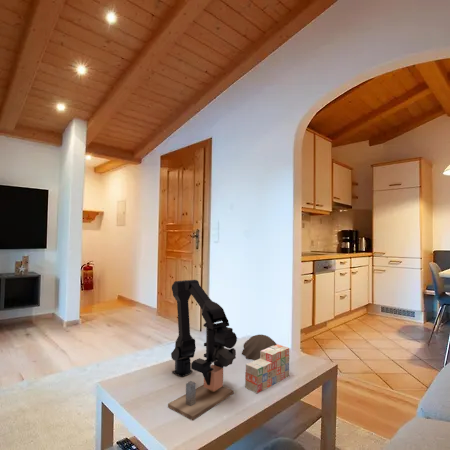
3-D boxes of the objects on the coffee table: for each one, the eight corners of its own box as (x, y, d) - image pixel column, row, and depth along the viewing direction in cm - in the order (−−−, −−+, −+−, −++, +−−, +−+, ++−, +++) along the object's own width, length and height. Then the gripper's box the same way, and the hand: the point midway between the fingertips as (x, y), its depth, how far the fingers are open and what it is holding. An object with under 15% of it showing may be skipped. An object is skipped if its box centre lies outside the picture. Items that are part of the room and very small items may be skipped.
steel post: (185, 407, 107) (186, 383, 108) (190, 404, 109) (190, 380, 109) (190, 409, 106) (190, 385, 106) (195, 406, 108) (195, 383, 108)
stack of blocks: (257, 394, 117) (257, 361, 118) (244, 388, 122) (245, 356, 122) (289, 376, 132) (289, 347, 132) (277, 371, 137) (277, 343, 137)
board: (168, 407, 107) (168, 403, 107) (210, 383, 124) (210, 380, 124) (192, 420, 100) (192, 416, 100) (233, 393, 117) (233, 390, 117)
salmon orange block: (203, 386, 116) (203, 369, 117) (212, 381, 120) (212, 364, 121) (214, 391, 113) (214, 373, 113) (223, 386, 117) (223, 368, 117)
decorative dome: (268, 366, 143) (268, 344, 143) (234, 355, 155) (234, 335, 155) (287, 353, 158) (287, 334, 158) (255, 345, 170) (255, 326, 170)
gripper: (213, 352, 105) (213, 399, 105) (245, 339, 120) (244, 379, 119) (190, 345, 112) (189, 389, 112) (222, 333, 127) (222, 371, 126)
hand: (213, 382), depth 117 cm, fingers closed on salmon orange block, 5 cm apart
